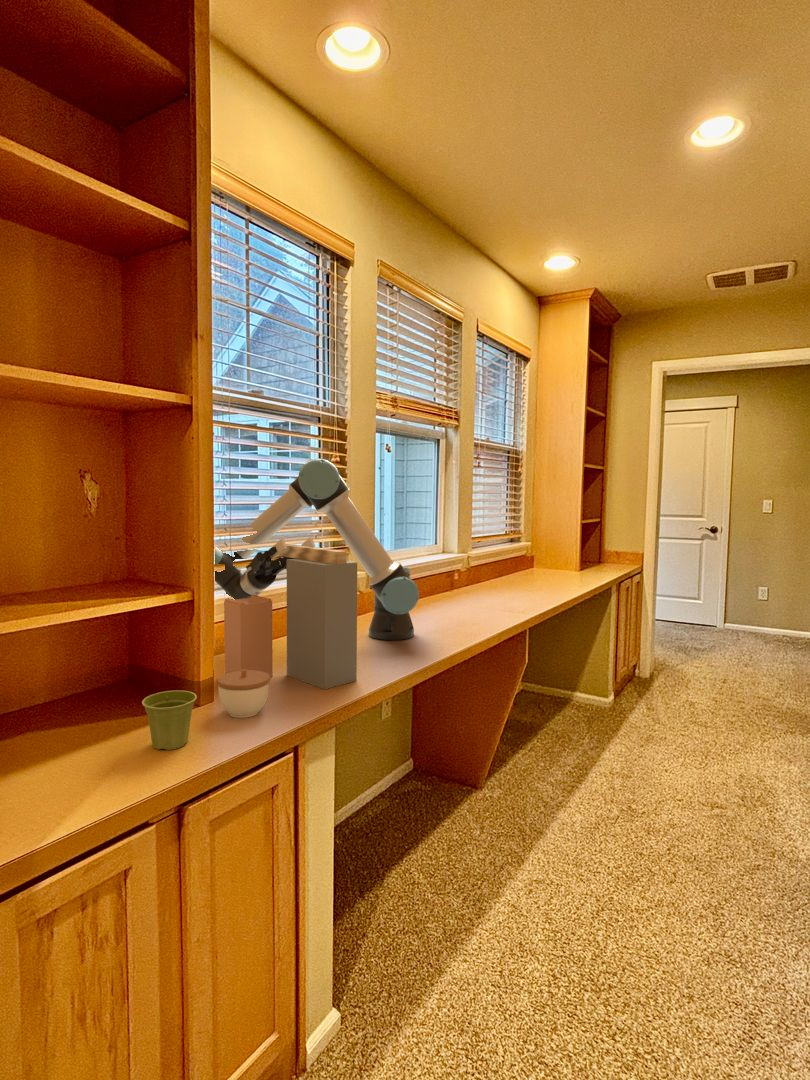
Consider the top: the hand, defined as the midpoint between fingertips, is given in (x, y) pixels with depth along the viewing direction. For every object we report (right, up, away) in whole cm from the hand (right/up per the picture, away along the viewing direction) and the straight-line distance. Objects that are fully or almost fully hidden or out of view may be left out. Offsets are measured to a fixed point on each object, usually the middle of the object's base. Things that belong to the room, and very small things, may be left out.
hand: (298, 542), depth 157 cm
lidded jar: (-6, -36, -29) cm, 47 cm away
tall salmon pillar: (-12, -34, -4) cm, 36 cm away
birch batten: (+3, -4, -3) cm, 6 cm away
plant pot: (-16, -37, -46) cm, 61 cm away
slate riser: (+7, -34, -4) cm, 35 cm away
